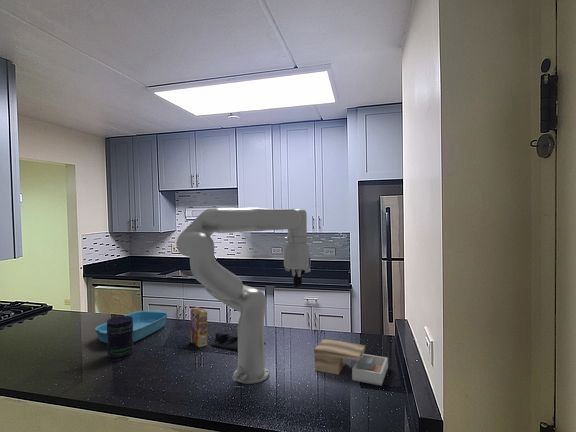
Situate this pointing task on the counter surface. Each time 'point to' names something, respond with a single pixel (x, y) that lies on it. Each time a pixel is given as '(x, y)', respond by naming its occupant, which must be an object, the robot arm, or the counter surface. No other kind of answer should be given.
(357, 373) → the tray
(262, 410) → the counter surface
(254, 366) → the robot arm
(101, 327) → the casserole dish
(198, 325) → the candy box
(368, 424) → the counter surface
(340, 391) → the counter surface
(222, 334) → the black flat block
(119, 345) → the storage jar
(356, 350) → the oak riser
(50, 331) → the counter surface
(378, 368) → the terracotta tile
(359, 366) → the slate tile
